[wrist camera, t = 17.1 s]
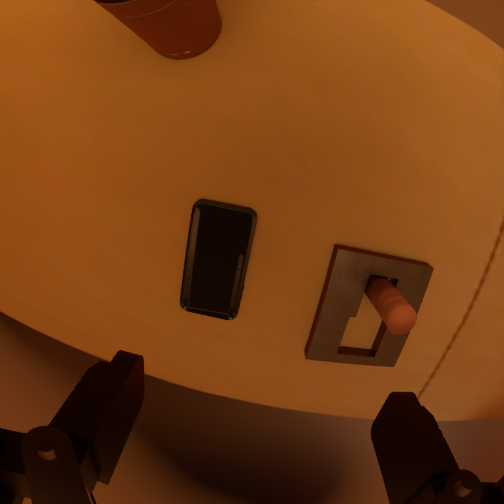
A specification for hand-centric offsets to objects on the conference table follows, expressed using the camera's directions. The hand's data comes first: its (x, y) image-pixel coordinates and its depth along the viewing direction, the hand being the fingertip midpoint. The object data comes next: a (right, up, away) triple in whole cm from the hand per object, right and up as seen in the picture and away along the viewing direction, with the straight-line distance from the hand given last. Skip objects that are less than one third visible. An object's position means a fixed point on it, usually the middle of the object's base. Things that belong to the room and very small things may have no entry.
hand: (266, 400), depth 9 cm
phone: (-5, +4, +31) cm, 32 cm away
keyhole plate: (+15, -3, +32) cm, 36 cm away
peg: (+16, 0, +31) cm, 35 cm away
